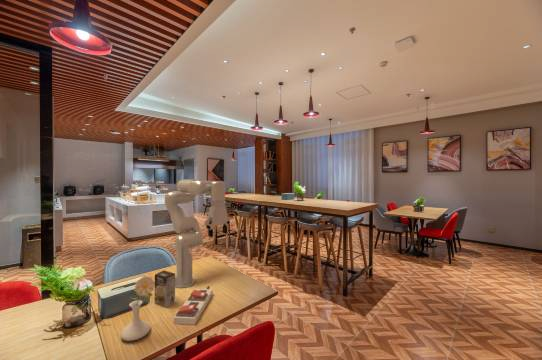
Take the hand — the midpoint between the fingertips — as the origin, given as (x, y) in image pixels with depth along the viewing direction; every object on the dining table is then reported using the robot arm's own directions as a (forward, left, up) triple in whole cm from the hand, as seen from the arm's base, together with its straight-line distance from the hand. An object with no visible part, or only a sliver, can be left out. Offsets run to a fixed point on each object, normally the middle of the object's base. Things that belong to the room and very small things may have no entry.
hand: (218, 235), depth 130 cm
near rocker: (-10, -17, -33) cm, 38 cm away
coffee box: (-28, -4, -37) cm, 47 cm away
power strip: (-10, -3, -37) cm, 38 cm away
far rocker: (-10, -3, -33) cm, 34 cm away
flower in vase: (-27, -29, -37) cm, 54 cm away
